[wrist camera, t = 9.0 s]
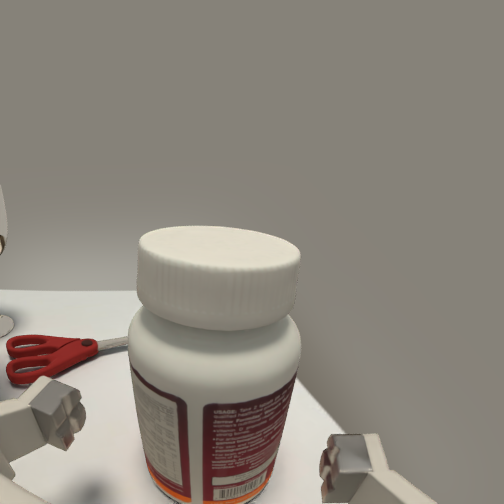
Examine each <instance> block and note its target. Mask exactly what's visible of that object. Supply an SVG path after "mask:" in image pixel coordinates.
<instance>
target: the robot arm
mask: <svg viewBox="0 0 504 504" xmlns="http://www.w3.org/2000/svg"><path fill="white" fill-rule="evenodd" d="M81 398H82V397H81V394H80V391H79V390H78V389H76V388H73V387H71V386H68V385H66V384H63V383H61V382H58V381H56V380H53V379H51V378H49V377H46V376H40V377H39V378H38V379H37V380H36V381H35V382H34V383H33V384H32V385H31V386H30V387H29V388H28V389H27V390H26V391H25V392H24V393H23V394H22V395H21V396H20V397H19V398H18V399H15V398H12V399H9V400H5V401H2V402H0V504H51V503H49V502H47V501H45V500H43V499H41V498H40V497H38V496H36V495H34V494H33V493H31V492H29V491H27V490H26V489H24V488H23V487H21V486H19V485H18V484H16V483H15V482H13V481H12V480H13V478H14V477H15V472H14V470H13V469H12V467H11V466H10V464H9V463H10V462H12V461H14V460H16V459H18V458H20V457H22V456H24V455H26V454H28V453H30V452H32V451H34V450H36V449H38V448H40V447H42V446H44V445H46V444H47V443H48V444H50V445H52V446H55V447H57V448H59V449H62V450H64V451H67V450H68V448H69V447H70V445H71V444H72V442H73V441H74V433H77V432H79V431H81V429H82V428H83V426H84V423H85V420H86V411H85V408H84V406H83V405H82V404H81V403H80V399H81ZM319 472H320V477H321V478H322V479H323V480H324V482H323V484H322V486H321V494H322V503H348V504H438V503H436V502H435V501H434V500H432V499H431V498H430V497H428V496H427V495H425V494H424V493H423V492H422V491H420V490H419V489H417V488H416V487H415V486H414V485H412V484H411V483H410V482H409V481H407V480H406V479H405V478H403V477H402V476H401V475H399V474H398V473H397V472H396V471H395V470H390V469H389V466H388V463H387V460H386V457H385V453H384V451H383V447H382V444H381V441H380V438H379V436H378V434H377V433H376V434H331V435H330V436H329V438H328V440H327V449H325V450H324V451H323V453H322V455H321V459H320V465H319Z"/></svg>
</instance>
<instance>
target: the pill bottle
mask: <svg viewBox="0 0 504 504" xmlns="http://www.w3.org/2000/svg"><path fill="white" fill-rule="evenodd" d="M300 260H301V255H300V251H299V250H298V249H297V248H296V247H295V246H294V245H292V244H291V243H289V242H287V241H286V240H283V239H280V238H278V237H275V236H272V235H268V234H264V233H260V232H255V231H250V230H245V229H237V228H229V227H217V226H180V227H169V228H162V229H158V230H154V231H151V232H148V233H146V234H144V235H143V236H142V237H141V238H140V240H139V243H138V274H137V295H138V298H139V300H140V301H141V303H142V304H143V306H142V307H141V308H140V309H139V310H138V311H137V313H136V314H135V316H134V317H133V319H132V321H131V324H130V327H129V331H128V356H129V362H130V370H131V377H132V384H133V391H134V398H135V405H136V411H137V417H138V423H139V428H140V433H141V439H142V444H143V449H144V454H145V458H146V463H147V467H148V470H149V472H150V475H151V477H152V479H153V480H154V482H155V483H156V485H157V486H158V487H159V488H160V489H161V490H162V491H163V492H164V493H165V494H166V495H168V496H169V497H170V498H172V499H174V500H175V501H177V502H179V503H182V504H244V503H246V502H248V501H250V500H251V499H253V498H254V497H255V496H257V495H258V494H259V493H260V492H261V491H262V490H263V488H264V487H265V486H266V484H267V483H268V481H269V479H270V476H271V474H272V471H273V467H274V464H275V459H276V455H277V452H278V448H279V445H280V441H281V437H282V433H283V429H284V425H285V421H286V417H287V412H288V409H289V404H290V400H291V395H292V391H293V387H294V383H295V379H296V374H297V370H298V366H299V362H300V354H301V339H300V334H299V331H298V329H297V326H296V324H295V323H294V321H293V320H292V318H291V317H290V316H289V315H288V314H289V313H290V311H291V310H292V309H293V306H294V303H295V297H296V287H297V281H298V274H299V268H300Z"/></svg>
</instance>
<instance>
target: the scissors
mask: <svg viewBox="0 0 504 504" xmlns="http://www.w3.org/2000/svg"><path fill="white" fill-rule="evenodd" d="M29 344H39V345H36V346H31V347H26V348H15V347H17V346H20V345H29ZM126 344H128V336H127V337H121V338H115V339H109V340H103V341H96V340H94V339H81V340H80V338H63V337H54V336H45V335H22V336H16V337H13V338H11V339H9V340H8V341H7V343H6V348H7V351H8V354H9V355H10V356H11V357H13V358H17V359H14V360H12V361H10V362H9V363H8V364H7V367H6V373H7V376H8V378H9V380H10V381H11V382H12V383H14V384H29V383H34V382H35V381H36V380H37V379H38V378H39V377H40V376H46V377H51V376H53V375H55V374H57V373H59V372H61V371H62V370H64V369H66V368H68V367H70V366H72V365H74V364H76V363H78V362H80V361H82V360H85V359H86V358H87V357H91V356H94V355H96V354H97V353H98V352H99V350H103V349H108V348H113V347H117V346H122V345H126ZM43 354H48V355H43ZM38 355H42V356H38ZM37 366H45V367H43V368H41V369H38V370H35V371H31V372H25V373H15V371H17V370H18V369H22V368H27V367H37Z"/></svg>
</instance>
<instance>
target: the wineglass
mask: <svg viewBox="0 0 504 504" xmlns="http://www.w3.org/2000/svg"><path fill="white" fill-rule="evenodd" d="M7 230H8V226H7V216H6V209H5V203H4V198H3V193H2V189H1V185H0V255H1V254H2V252H3V250H4V248H5V246H6V242H7V233H8V231H7ZM13 327H14V322H13V320H12V319H11V318H10V317H8V316H5V315H0V337H2V336H4V335H6V334H8V333H9V332H10V331H11V330H12V329H13Z"/></svg>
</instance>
